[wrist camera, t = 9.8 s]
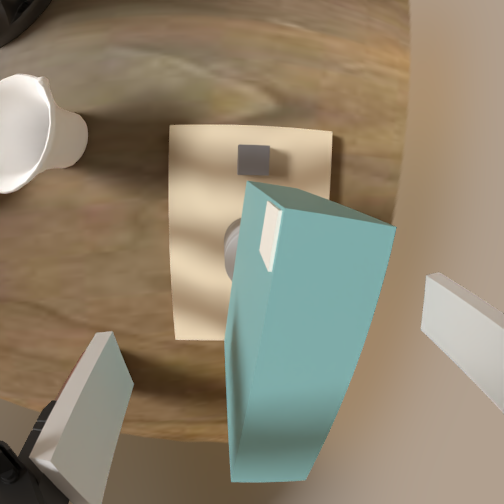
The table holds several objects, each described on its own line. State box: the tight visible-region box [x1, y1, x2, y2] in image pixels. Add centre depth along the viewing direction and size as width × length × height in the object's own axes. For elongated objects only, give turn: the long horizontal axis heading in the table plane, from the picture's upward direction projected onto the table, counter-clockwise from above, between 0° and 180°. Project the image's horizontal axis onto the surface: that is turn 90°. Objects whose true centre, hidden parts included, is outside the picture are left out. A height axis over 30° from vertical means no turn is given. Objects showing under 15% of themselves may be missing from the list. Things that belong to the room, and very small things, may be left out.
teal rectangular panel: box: [224, 181, 397, 482], centre depth 16 cm, size 3×11×13 cm, turn 172°
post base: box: [169, 125, 332, 340], centre depth 26 cm, size 20×14×8 cm
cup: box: [0, 74, 88, 194], centre depth 20 cm, size 9×9×10 cm
